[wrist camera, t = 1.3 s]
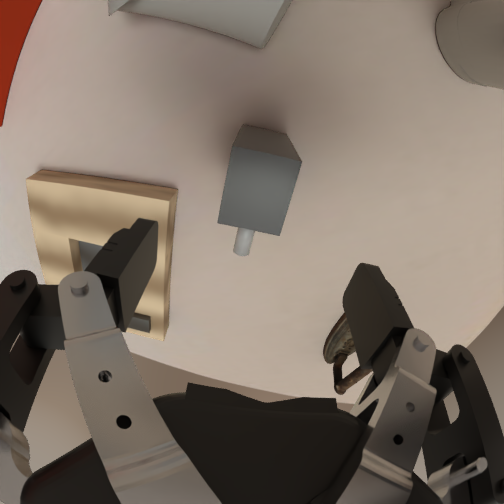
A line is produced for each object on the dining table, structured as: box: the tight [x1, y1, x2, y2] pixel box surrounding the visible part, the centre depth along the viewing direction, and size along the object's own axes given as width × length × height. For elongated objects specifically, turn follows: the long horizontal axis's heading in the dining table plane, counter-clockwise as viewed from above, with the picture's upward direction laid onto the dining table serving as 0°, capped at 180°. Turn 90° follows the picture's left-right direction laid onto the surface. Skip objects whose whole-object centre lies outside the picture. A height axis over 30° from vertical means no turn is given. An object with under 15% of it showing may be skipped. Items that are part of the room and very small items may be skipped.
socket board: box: [26, 170, 178, 341], centre depth 30 cm, size 20×18×4 cm
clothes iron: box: [323, 313, 373, 395], centre depth 36 cm, size 7×11×10 cm, turn 157°
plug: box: [218, 124, 302, 256], centre depth 21 cm, size 8×4×10 cm, turn 168°
